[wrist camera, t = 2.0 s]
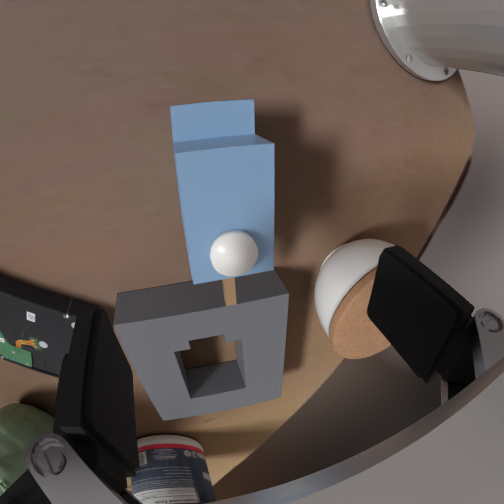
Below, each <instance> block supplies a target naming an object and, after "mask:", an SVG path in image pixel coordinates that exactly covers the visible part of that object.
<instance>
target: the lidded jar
mask: <svg viewBox="0 0 504 504" xmlns="http://www.w3.org/2000/svg"><path fill="white" fill-rule="evenodd" d="M392 246H395V245H393V244H391V243H388V242H386V241H382V240H378V239H360V240H356V241H352V242H350V243H345V244H343V245H341V246H339V247H337V248H335V249H334V250H333V251H332V252H331V253H330V254H329V255H328V256H327V257H326V258H325V260H324V261H323V263H322V265H321V267H320V271H319V274H318V276H317V279H316V283H315V290H314V301H315V308H316V311H317V315H318V318H319V320H320V322H321V325H322V327H323V329H324V330H325V332H326V334H327V336H328V337H329V339H330V342H331V344H332V346H333V348H334V349H335V351H336V352H337V353H338V354H339V355H341V356H342V357H345V358H349V359H359V358H365V357H369V356H371V355H374V354H376V353H378V352H380V351H382V350H384V349H386V348H387V347H389V346H390V345H391V343H390V342H389V341H388V340H387V339H386V338H385V336H384V335H383V334H382V333H381V332H380V331H379V329H378V328H377V327H376V326H375V325H374V324H373V322H372V321H371V320H370V319H369V317H368V315H367V307H368V303H369V299H370V295H371V291H372V287H373V283H374V279H375V274H376V270H377V265H378V261H379V256H380V254H381V253H382V251H383V250H384V249H385V248H387V247H392Z"/></svg>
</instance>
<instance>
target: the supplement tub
mask: <svg viewBox="0 0 504 504" xmlns="http://www.w3.org/2000/svg"><path fill="white" fill-rule="evenodd" d="M137 445H138V454H139V462H140V467H139V468H138V469H135V472H136V477H130V478H131V487H132V494H133V495H134V496H135V497H136V498H137V499H138V500H139V501H140V502H142V503H143V504H205V503H211V502H216V498H215V494H214V491H213V487H212V483H211V480H210V476H209V472H208V468H207V464H206V460H205V456H204V451H203V448H202V446H201V445H200V444H199V443H198V442H197V441H195V440H193V439H191V438H188V437H184V436H178V435H154V436H148V437H144V438H140V439H138V440H137Z"/></svg>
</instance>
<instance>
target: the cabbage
mask: <svg viewBox="0 0 504 504" xmlns="http://www.w3.org/2000/svg"><path fill="white" fill-rule="evenodd" d="M53 423H54V417H52V416H51V415H50V414H48V413H46V412H44V411H42V410H40V409H38V408H36V407H34V406H30V405H26V404H18V403H13V404H9V405H7V406H5V407H3V408H1V409H0V496H1V495H2V494H3V493H4V492H5V491H6V490H7V489H8V488H9V487H10V486H11V485H12V484H13V483H14V482H15V481H16V480H17V479H18V478H19V477H20V476H21V475H22V474H23V473H24V472H25V471H26V470H27V469H28V466H27V461H26V454H27V449H28V447H29V445H30V443H31V442H32V440H33V439H34V438H35V437H37V436H39V435H40V434H43V433H53Z"/></svg>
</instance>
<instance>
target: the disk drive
mask: <svg viewBox="0 0 504 504" xmlns="http://www.w3.org/2000/svg"><path fill="white" fill-rule="evenodd" d="M89 306H94V305H91V304H87V303H86V302H83V301H80V300H76V299H71V298H68V297H64V296H61V295H58V294H55V293H52V292H49V291H46V290H43V289H40V288H37V287H34V286H31V285H28V284H25V283H23V282H19V281H17V280H14V279H12V278H9V277H6V276H4V275H1V274H0V358H2V359H4V360H7V361H9V362H12V363H14V364H17V365H20V366H23V367H26V368H29V369H32V370H35V371H38V372H41V373H44V374H47V375H51V376H53V377H57V378H59V377H60V371H61V366H62V360H63V357H64V355H65V354H66V353H69V349H70V344H71V339H72V334H73V330H74V325H75V321H76V317H77V313H78V310H79V308H83V307H89ZM97 307H98V308H99V310H100V307H99V306H97Z"/></svg>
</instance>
